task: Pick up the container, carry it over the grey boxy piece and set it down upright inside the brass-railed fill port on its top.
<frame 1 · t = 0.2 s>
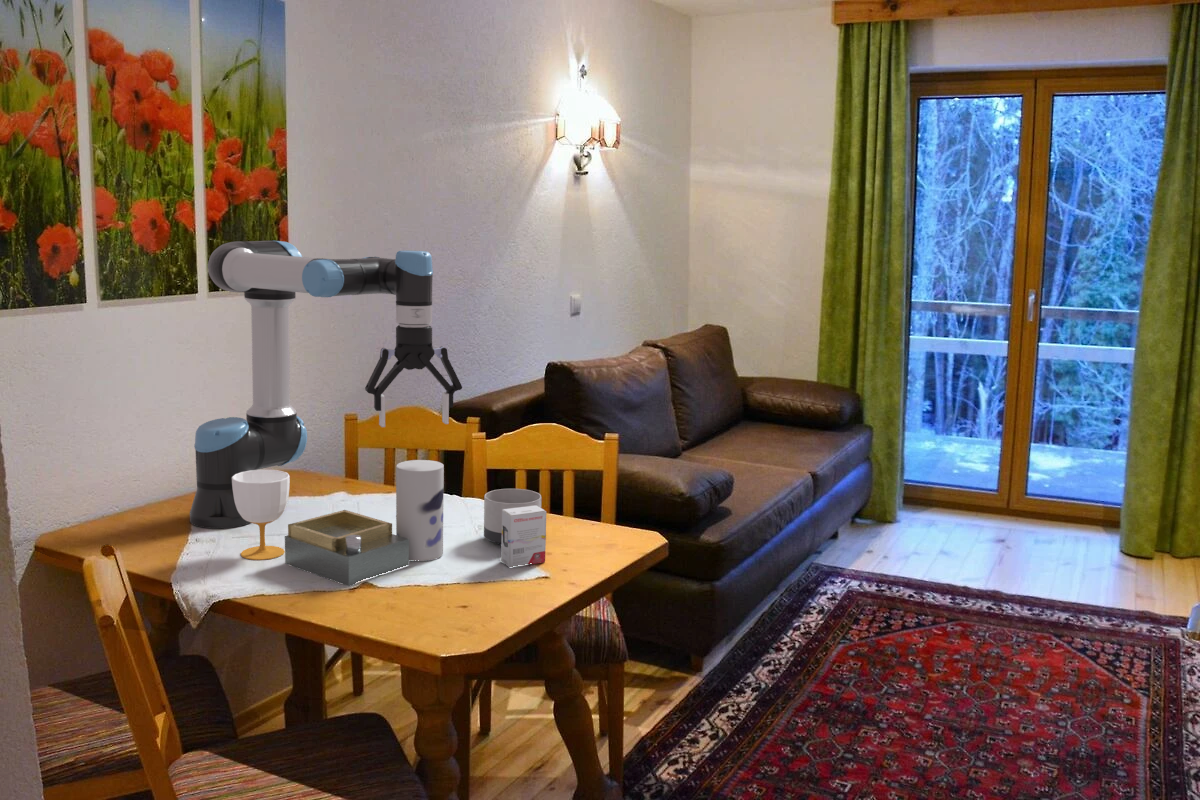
hand: (414, 424, 234), 28 cm above the table, fingers open, 13 cm apart
grey boxy piece: (347, 565, 229), on the table
ink box: (523, 563, 234), on the table
container: (419, 555, 238), on the table
planter: (512, 541, 249), on the table
cup: (262, 554, 235), on the table
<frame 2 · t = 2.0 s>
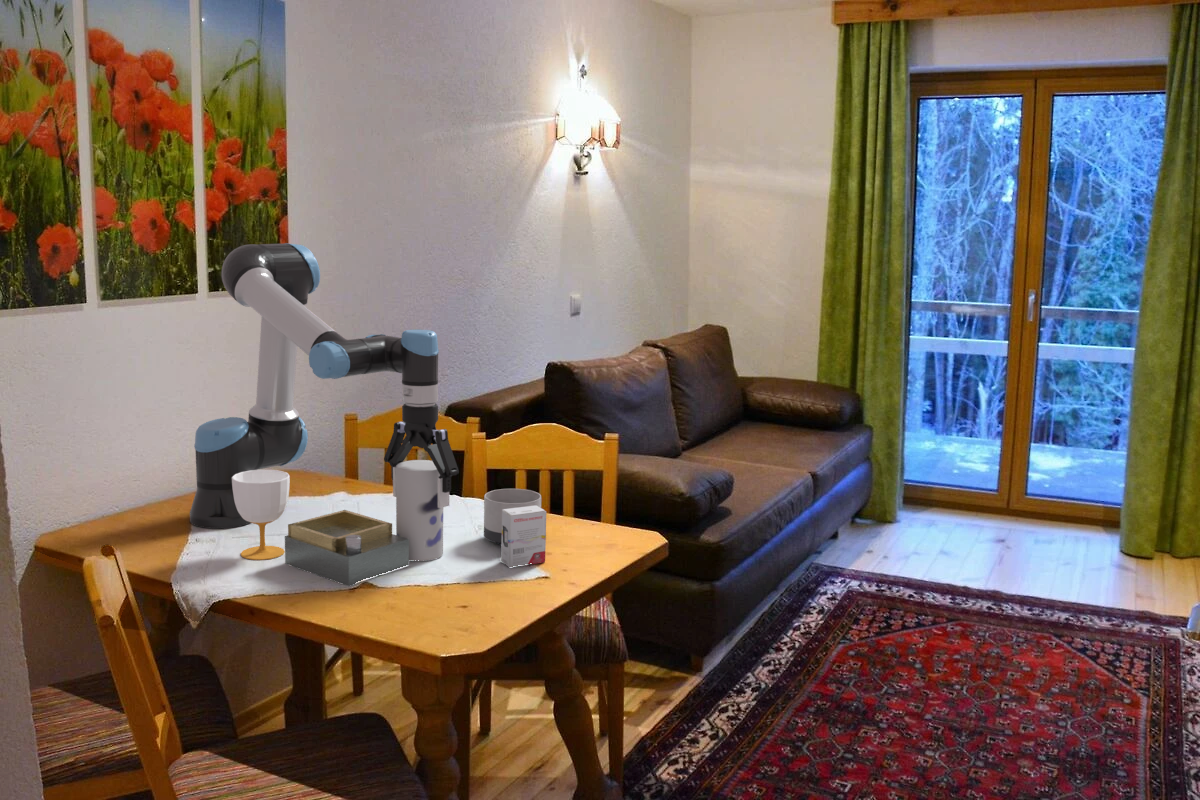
hand: (420, 501, 235), 12 cm above the table, fingers open, 13 cm apart
nothing on the table moved.
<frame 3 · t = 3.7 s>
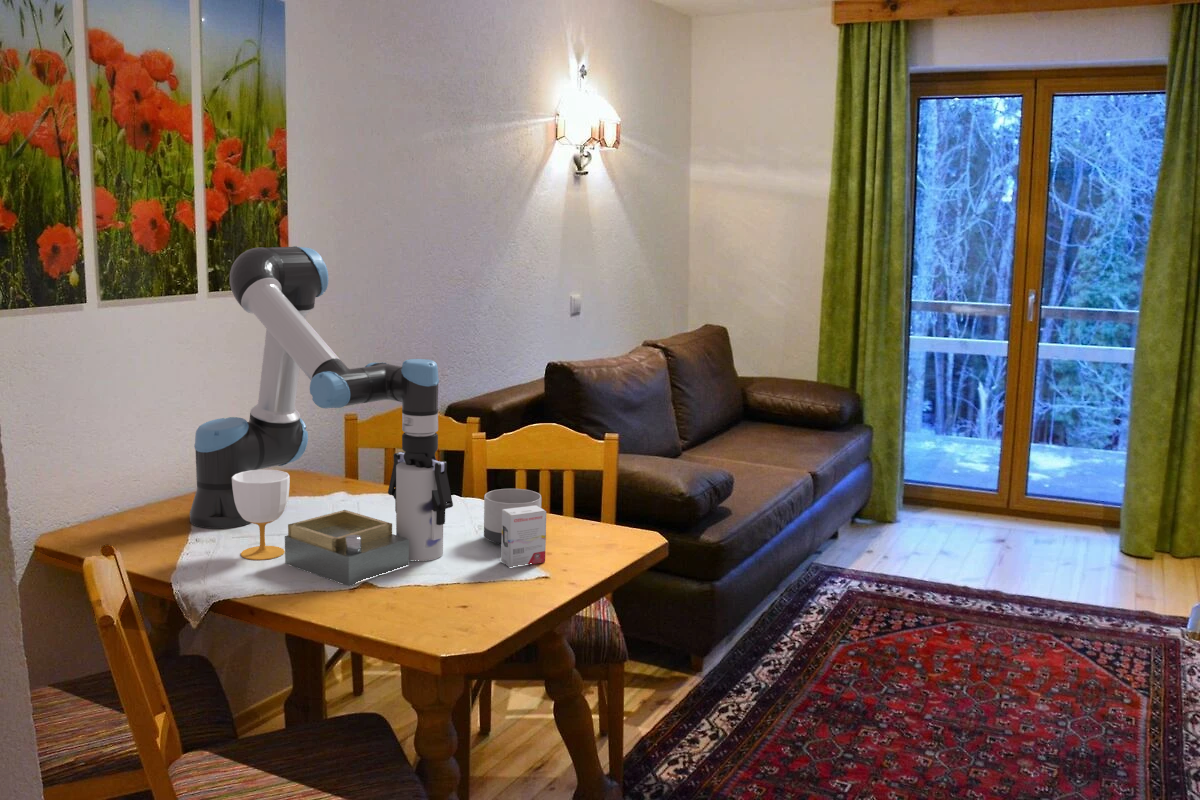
hand: (419, 533, 237), 5 cm above the table, fingers closed on container, 10 cm apart
container: (419, 555, 238), on the table, touching gripper
everything else where it was.
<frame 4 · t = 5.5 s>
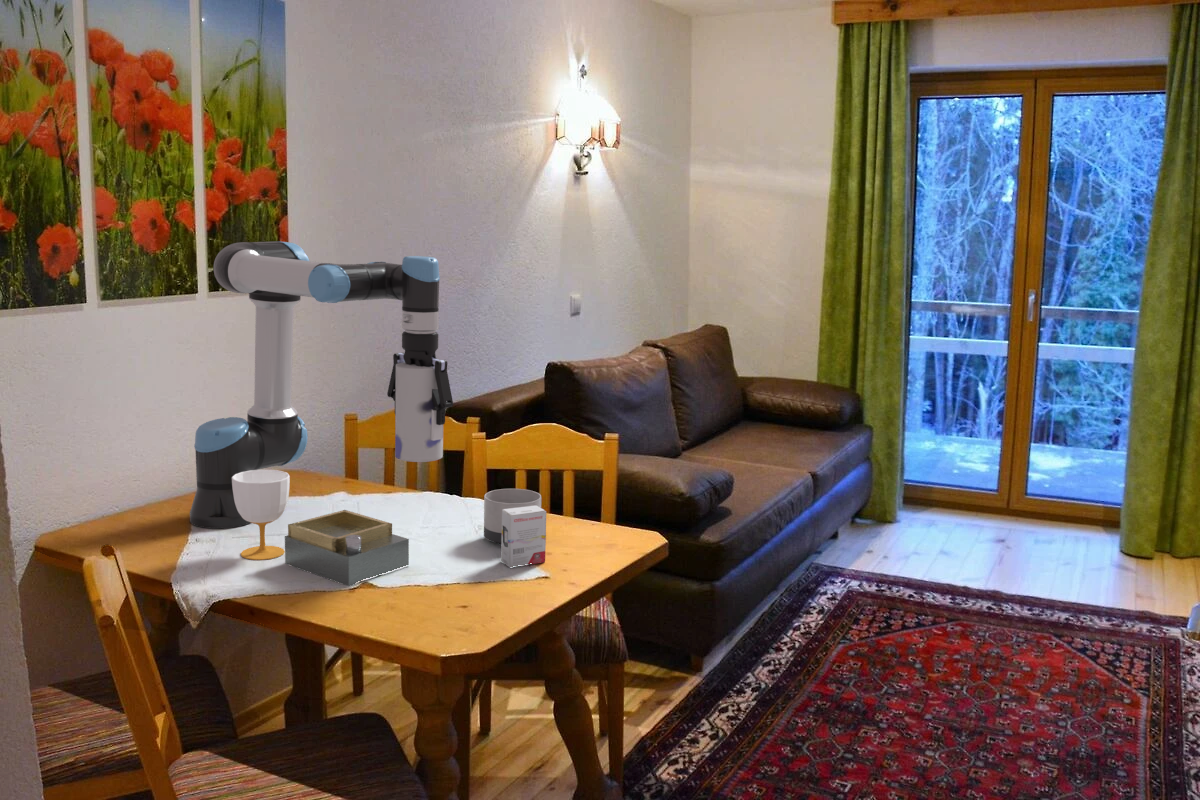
hand: (419, 435, 233), 26 cm above the table, fingers closed on container, 10 cm apart
container: (419, 458, 234), point 21 cm above the table, touching gripper
everything else where it was.
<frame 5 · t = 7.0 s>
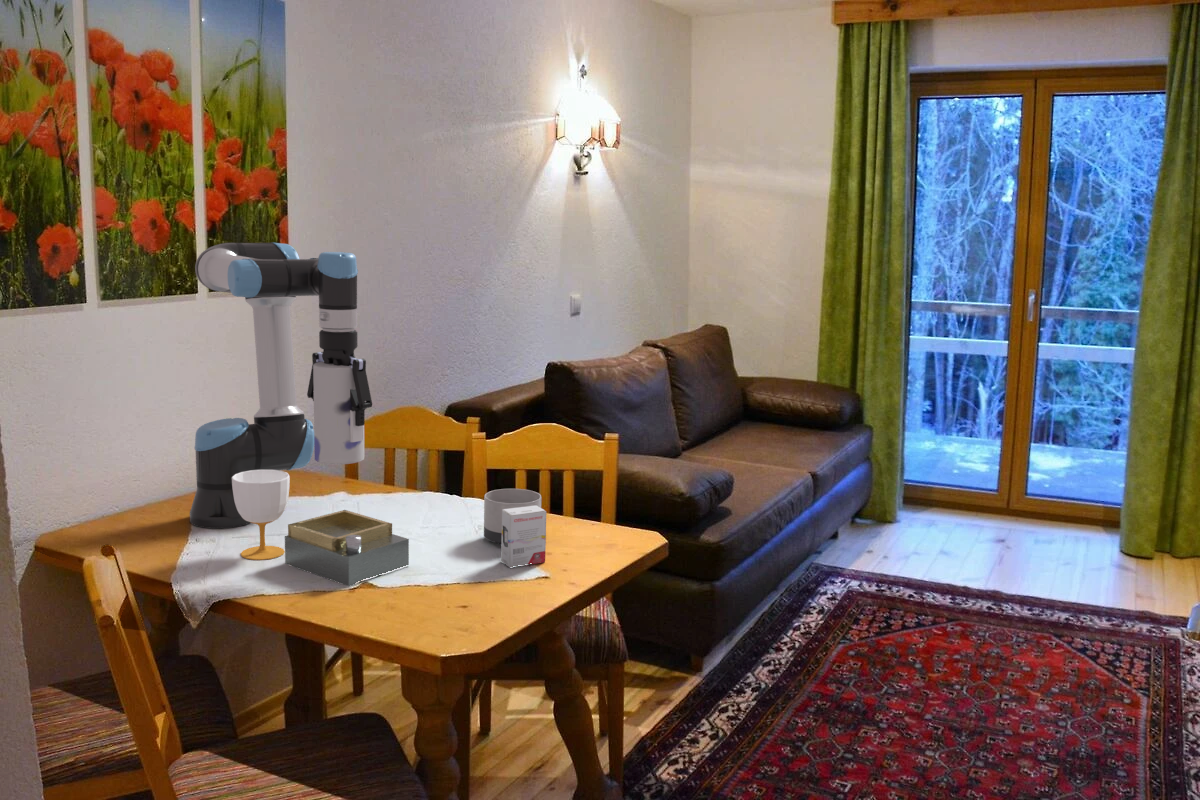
hand: (339, 437, 225), 27 cm above the table, fingers closed on container, 10 cm apart
container: (339, 460, 226), point 22 cm above the table, touching gripper
everything else where it was.
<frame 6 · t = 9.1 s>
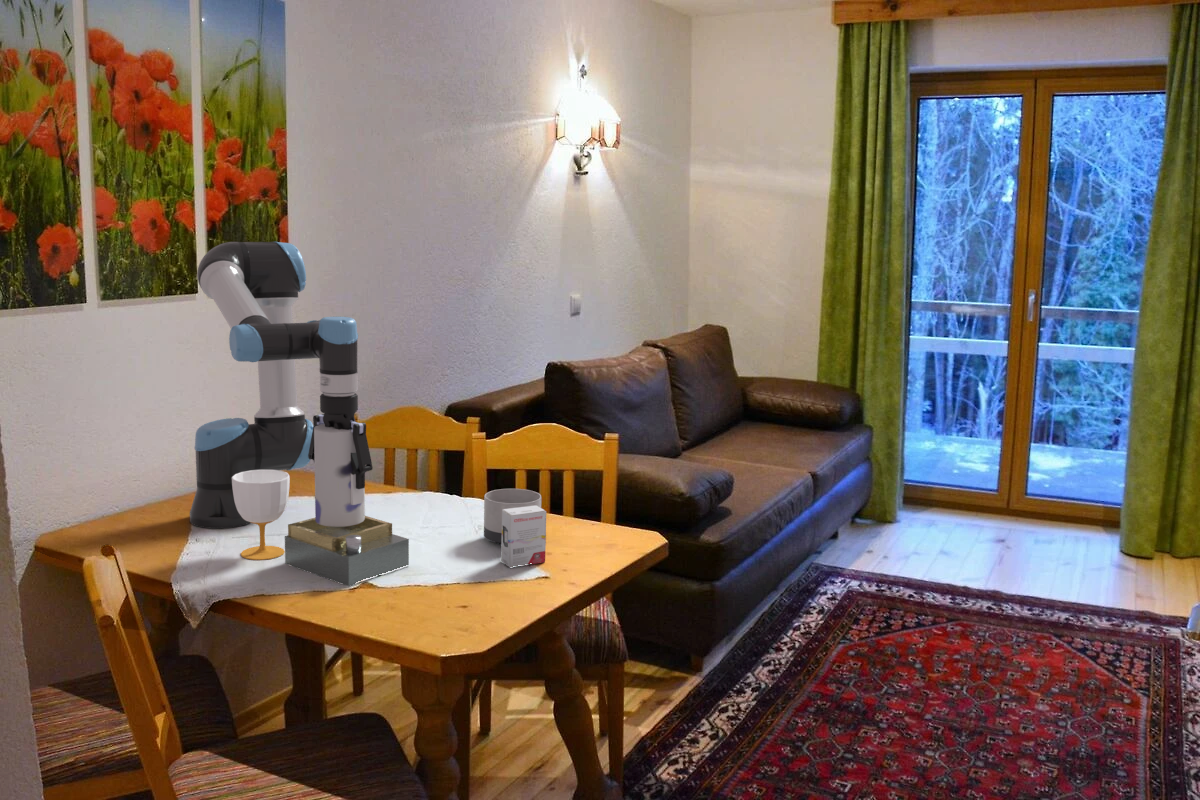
hand: (340, 498, 228), 14 cm above the table, fingers closed on container, 10 cm apart
container: (340, 521, 229), point 9 cm above the table, touching gripper
everything else where it was.
when the fingers open (12 cm above the table, at t = 10.6 s): container drops 1 cm, resting on grey boxy piece.
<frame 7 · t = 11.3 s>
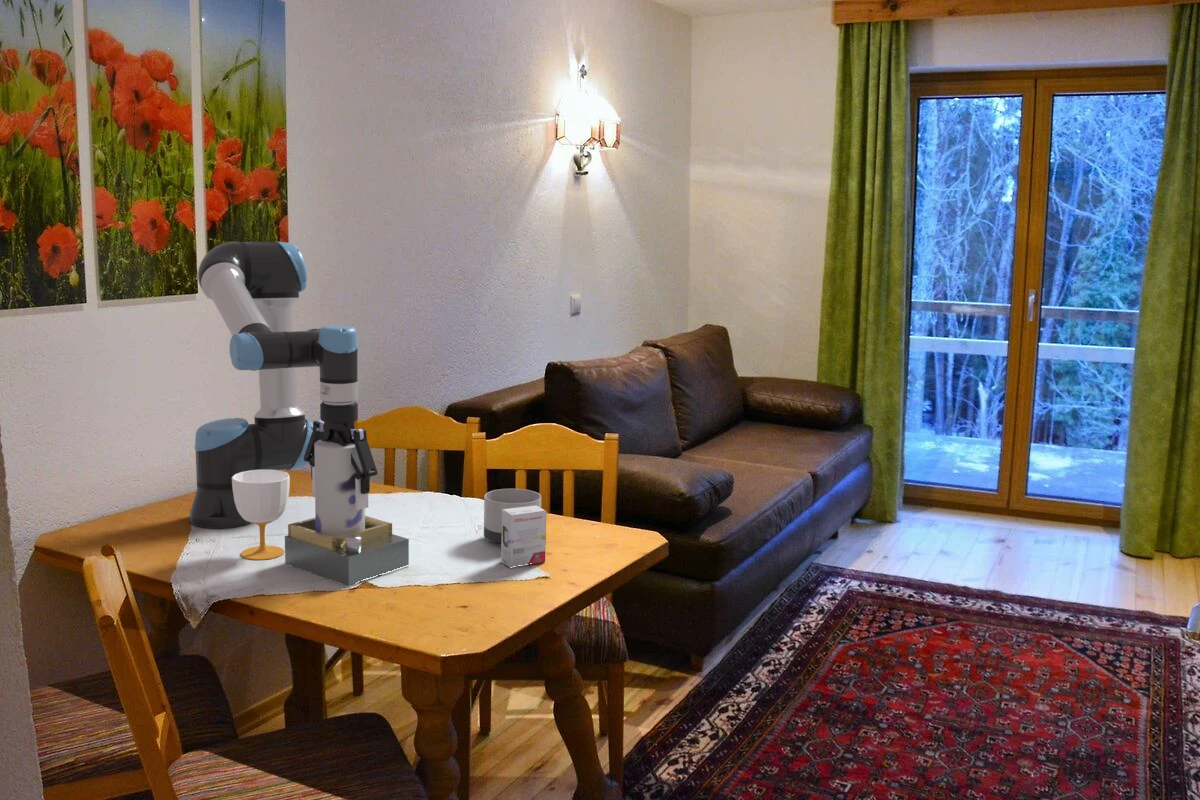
hand: (340, 502, 228), 13 cm above the table, fingers open, 13 cm apart
container: (340, 536, 229), point 6 cm above the table, touching grey boxy piece
everything else where it was.
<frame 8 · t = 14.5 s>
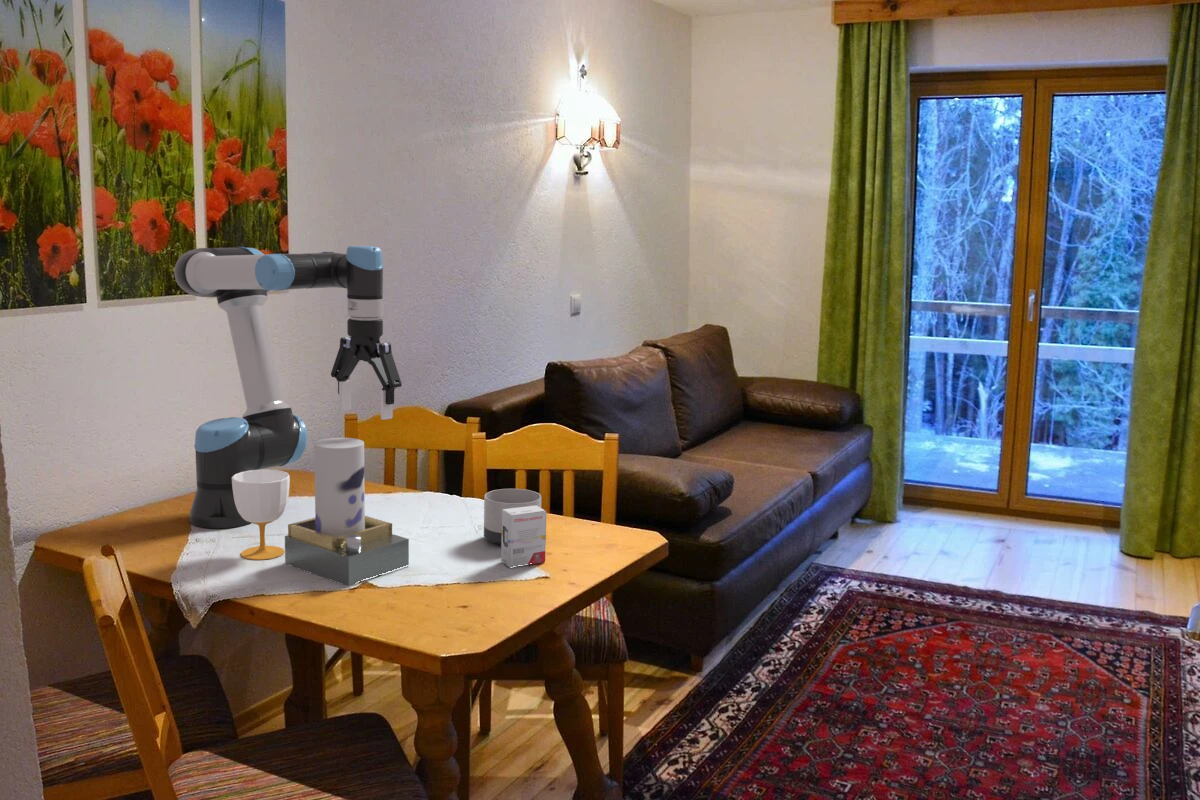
hand: (365, 414, 241), 29 cm above the table, fingers open, 13 cm apart
nothing on the table moved.
at the end: container 0.0 cm from the target spot on the grey boxy piece, point 5.8 cm above the grey boxy piece's base; container tilted 0°; container touching grey boxy piece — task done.
